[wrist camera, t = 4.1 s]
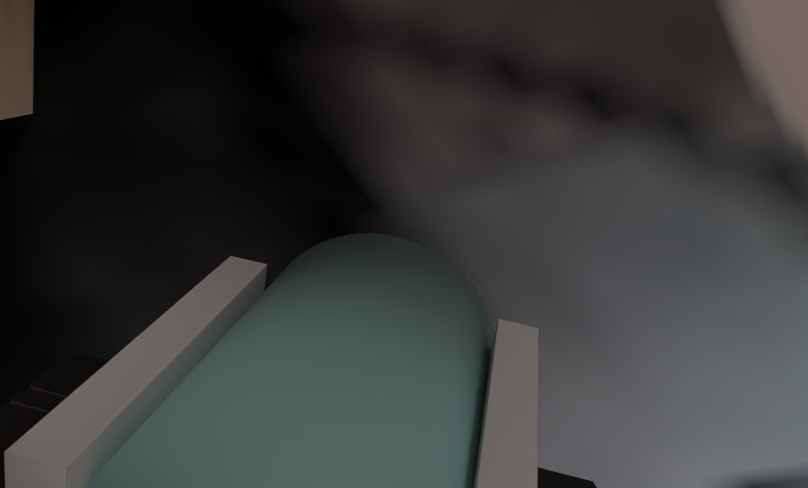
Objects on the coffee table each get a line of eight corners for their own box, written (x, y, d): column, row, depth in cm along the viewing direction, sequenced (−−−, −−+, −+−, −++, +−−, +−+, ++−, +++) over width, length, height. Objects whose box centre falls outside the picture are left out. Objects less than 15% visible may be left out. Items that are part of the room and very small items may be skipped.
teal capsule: (273, 210, 15) (67, 378, 8) (518, 260, 14) (506, 481, 8) (251, 421, 17) (67, 698, 10) (470, 472, 16) (428, 800, 9)
